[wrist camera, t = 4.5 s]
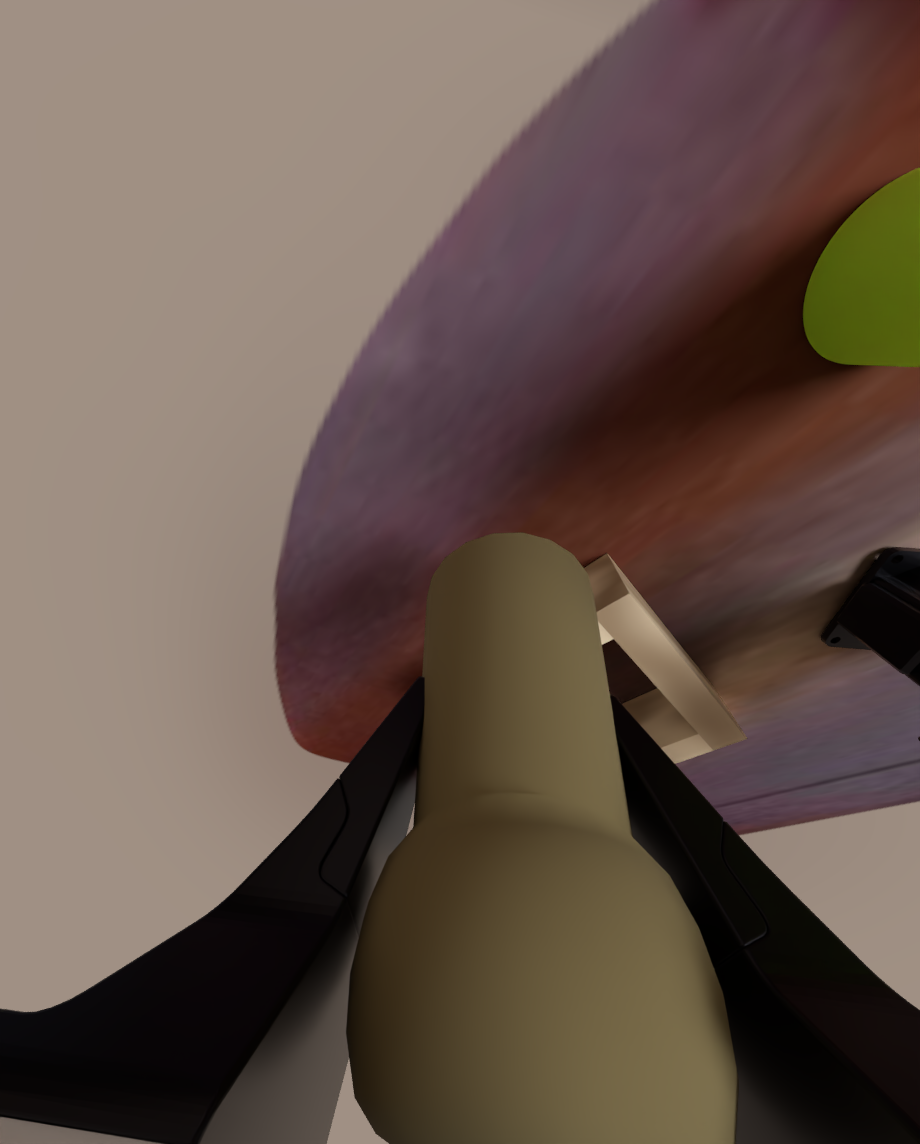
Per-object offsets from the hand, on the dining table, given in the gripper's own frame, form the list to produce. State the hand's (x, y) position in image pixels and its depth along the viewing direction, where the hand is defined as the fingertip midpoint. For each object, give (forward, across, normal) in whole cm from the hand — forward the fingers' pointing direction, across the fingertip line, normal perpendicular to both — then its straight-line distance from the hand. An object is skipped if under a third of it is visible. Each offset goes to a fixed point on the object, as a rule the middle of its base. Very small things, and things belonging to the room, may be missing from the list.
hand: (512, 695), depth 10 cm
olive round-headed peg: (+4, 0, 0) cm, 4 cm away
